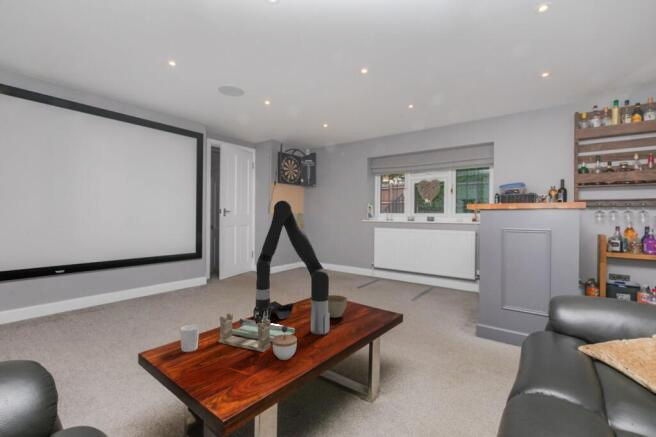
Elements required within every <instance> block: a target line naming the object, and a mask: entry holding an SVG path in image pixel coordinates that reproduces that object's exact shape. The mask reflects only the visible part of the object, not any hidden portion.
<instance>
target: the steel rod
mask: <svg viewBox="0 0 656 437" xmlns="http://www.w3.org/2000/svg"><path fill="white" fill-rule="evenodd" d="M263 323H264V322H263ZM238 324H239V326H244V325H246V326H252V327H257V324H256V323H255V320H252V319H247V318H240V319H239V321H238ZM287 327H288V325H285V324H284V325H281V324H277V323H276V324H275V323H270V330H274V331H280V332H283V333H286V332H287Z"/></svg>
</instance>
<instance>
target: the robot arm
mask: <svg viewBox="0 0 656 437" xmlns="http://www.w3.org/2000/svg"><path fill="white" fill-rule="evenodd" d="M283 227H284V229H285V232H286V233H287V237H288V239H289V242H290V244H291V245H292V247H293V249H294V251H295V252H296V254H297V256H298V258H299V259H301V261H302V262H303V263H304V265H305V266H306V269H307V270H308V273H309V276H310V278H311V281H310V282H311V283H310V286H311V287H310V288H311V290H310V293H311V294H310V332H311V333H312V334H314V335H326V334H328V333H329V332H330V317H329V316H330V314H329V313H328V295H329V294H330V292H329V291H330V288H329V286H330V282H329V281H330V278H329V274H328V272H327V271H326V270H325V268H324V267H323V265H322V264H321V263H320V262H319V261H320V260H319V259H318V257H317V254H316V252H315V250H314V247H313V245H312V243H311V241H310V240H309V238H308V236H307V234H306V232H305V231H304V230H303V229H302V227H301V226H300V224H299V223H298V222H297V219H296V218H295V216H294V213H293V211H292V206H291V204H290V203H289V202H288V201H287V200H279V201H277V202H276V203H275V204H274V206H273V214H272V219H271V223H270V227H269V229H268V232H267V234H266V236H265V239H264V241H263V245H262V248H261V252H260V254H259V256H258V259H257V261H256V265H255V266H256V269H255V270H256V281H255V282H256V283H255V284H256V286H255V306H256V307H257V313H256V314H254V315H253V314H252V315H253V319H254V321H255V323H256V324H257V323H263V322H264V320H265V319H266V320H270V319H271V315H272V313H271V311H272V308H269V306H270V303H271V281H270V280H271V279H270V278H271V277H270V276H271V264H272V260H273V257H274V255H275V254H276V251H277V248H278V244H279V241H280V238H281V233H282V231H283Z"/></svg>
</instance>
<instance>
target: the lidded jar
mask: <svg viewBox="0 0 656 437" xmlns="http://www.w3.org/2000/svg"><path fill="white" fill-rule="evenodd" d="M297 342H298V338H297V336H295V335H294V334H292V335H288V334H284V335H278V336H276V337H274V338H273V340H272V342H271V344H272V351H273V354H274V355H275V357H277V358H278V360H281V361H286V360H290V359H291V358H292V357H293V355H294V354H295V353H296V351H297V347H298V346H297V344H298V343H297Z"/></svg>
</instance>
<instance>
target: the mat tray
mask: <svg viewBox="0 0 656 437" xmlns="http://www.w3.org/2000/svg"><path fill="white" fill-rule="evenodd" d="M295 333H296V328H295V327H294V328H293V327H288V326H287V332H286V333H283V332H280V331H274V330H270V343H272V340H273V338H274V337H276V336H278V335H284V334H288V335H294V334H295ZM232 335H234V336H238V337H242V338H247V339H252V340H258V329H257V327H252V326H246V325H241V326H240V327H239V328H236V329H234V328H232Z"/></svg>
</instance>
